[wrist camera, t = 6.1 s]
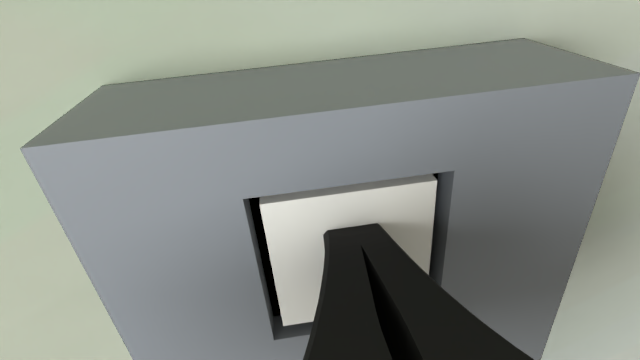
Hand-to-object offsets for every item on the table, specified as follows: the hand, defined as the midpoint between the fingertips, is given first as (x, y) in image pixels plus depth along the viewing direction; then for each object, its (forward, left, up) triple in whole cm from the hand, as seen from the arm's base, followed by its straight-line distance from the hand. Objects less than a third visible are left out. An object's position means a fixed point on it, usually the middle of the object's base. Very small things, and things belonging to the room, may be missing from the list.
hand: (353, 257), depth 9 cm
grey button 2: (0, 0, -3) cm, 3 cm away
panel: (0, -9, -4) cm, 10 cm away
